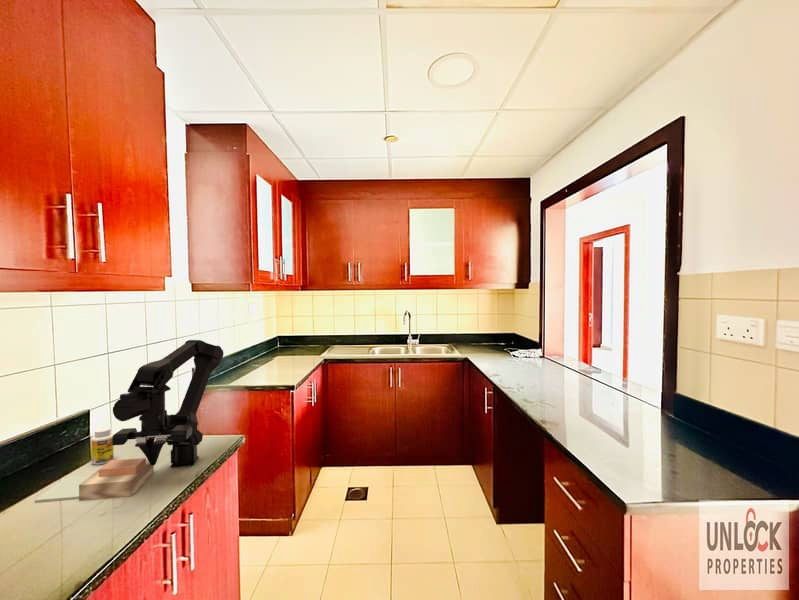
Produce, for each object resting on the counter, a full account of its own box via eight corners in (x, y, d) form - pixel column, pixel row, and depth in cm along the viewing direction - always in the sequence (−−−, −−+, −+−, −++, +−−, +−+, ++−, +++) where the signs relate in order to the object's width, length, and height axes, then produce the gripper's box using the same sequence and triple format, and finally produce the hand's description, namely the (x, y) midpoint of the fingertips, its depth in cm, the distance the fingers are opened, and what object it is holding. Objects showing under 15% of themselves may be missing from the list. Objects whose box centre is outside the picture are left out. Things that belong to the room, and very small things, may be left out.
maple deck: (153, 472, 116) (153, 458, 116) (130, 495, 102) (130, 480, 102) (108, 475, 113) (108, 461, 113) (79, 500, 100) (79, 485, 100)
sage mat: (104, 477, 112) (104, 475, 112) (79, 498, 101) (79, 496, 101) (65, 480, 110) (65, 478, 110) (34, 502, 99) (34, 500, 99)
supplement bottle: (95, 467, 119) (94, 434, 119) (89, 462, 122) (88, 430, 122) (116, 460, 123) (116, 429, 123) (110, 456, 127) (109, 425, 127)
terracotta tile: (145, 464, 112) (145, 457, 112) (135, 474, 106) (135, 466, 106) (110, 467, 110) (110, 460, 110) (98, 477, 104) (98, 469, 104)
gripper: (197, 400, 119) (198, 450, 119) (130, 403, 115) (130, 455, 115) (185, 411, 108) (185, 466, 108) (110, 415, 104) (110, 472, 104)
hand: (153, 464), depth 109 cm, fingers closed
